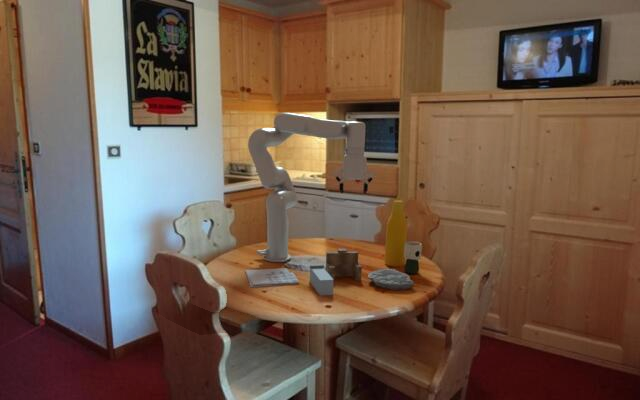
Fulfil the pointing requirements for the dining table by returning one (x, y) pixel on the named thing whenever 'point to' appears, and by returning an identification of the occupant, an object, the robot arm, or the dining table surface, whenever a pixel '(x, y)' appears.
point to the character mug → (412, 256)
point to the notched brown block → (343, 264)
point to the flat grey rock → (391, 279)
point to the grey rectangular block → (321, 280)
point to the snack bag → (270, 277)
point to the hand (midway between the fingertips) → (353, 192)
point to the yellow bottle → (396, 236)
